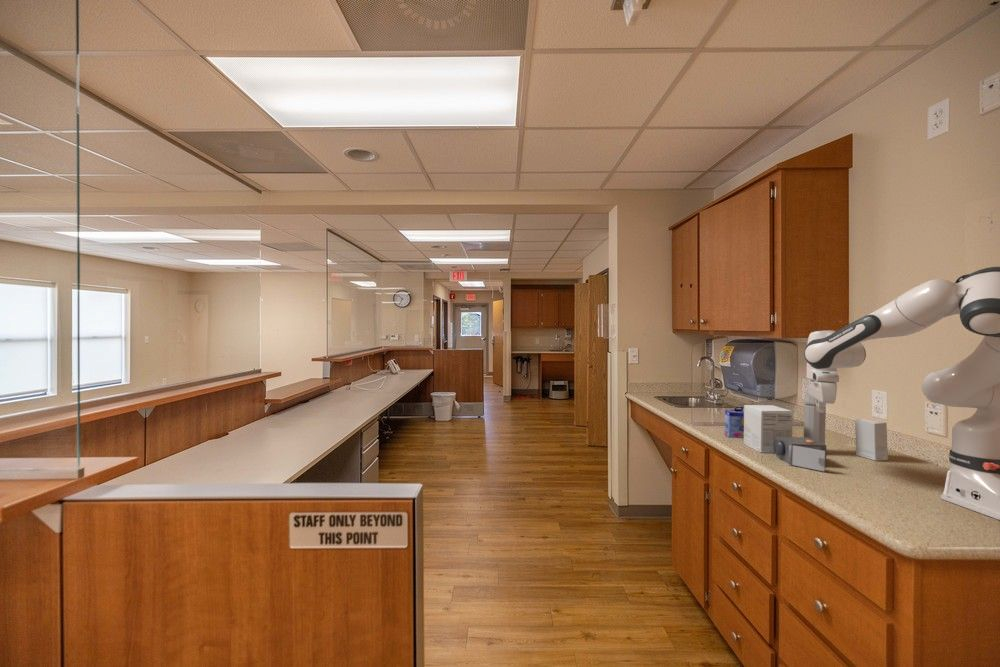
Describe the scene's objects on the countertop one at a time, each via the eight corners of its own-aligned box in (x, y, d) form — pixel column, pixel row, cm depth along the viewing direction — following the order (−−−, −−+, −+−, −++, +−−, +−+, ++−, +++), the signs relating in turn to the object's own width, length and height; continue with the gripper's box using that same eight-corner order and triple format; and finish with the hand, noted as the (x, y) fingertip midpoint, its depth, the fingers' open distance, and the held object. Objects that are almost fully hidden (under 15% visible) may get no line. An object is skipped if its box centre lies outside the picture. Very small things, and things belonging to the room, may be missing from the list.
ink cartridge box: (728, 437, 197) (729, 406, 197) (723, 434, 203) (724, 404, 203) (751, 438, 197) (751, 407, 196) (745, 435, 202) (745, 405, 202)
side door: (823, 471, 151) (824, 451, 150) (788, 464, 158) (788, 445, 158) (824, 470, 152) (825, 451, 151) (789, 463, 159) (789, 444, 159)
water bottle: (829, 455, 171) (831, 393, 171) (807, 454, 173) (809, 393, 172) (817, 448, 180) (818, 390, 180) (796, 447, 182) (798, 389, 181)
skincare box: (888, 460, 165) (889, 422, 165) (874, 461, 164) (875, 423, 164) (866, 454, 173) (867, 418, 173) (853, 454, 172) (854, 418, 172)
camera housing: (826, 466, 157) (826, 443, 157) (787, 465, 159) (787, 441, 159) (807, 457, 168) (808, 435, 168) (771, 456, 170) (771, 434, 170)
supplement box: (793, 453, 174) (793, 411, 173) (760, 453, 174) (761, 410, 174) (772, 444, 187) (773, 404, 187) (742, 444, 187) (743, 404, 187)
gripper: (803, 370, 165) (803, 406, 166) (818, 376, 147) (817, 416, 147) (823, 371, 163) (822, 407, 163) (840, 377, 144) (839, 418, 144)
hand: (820, 411), depth 155 cm, fingers closed
